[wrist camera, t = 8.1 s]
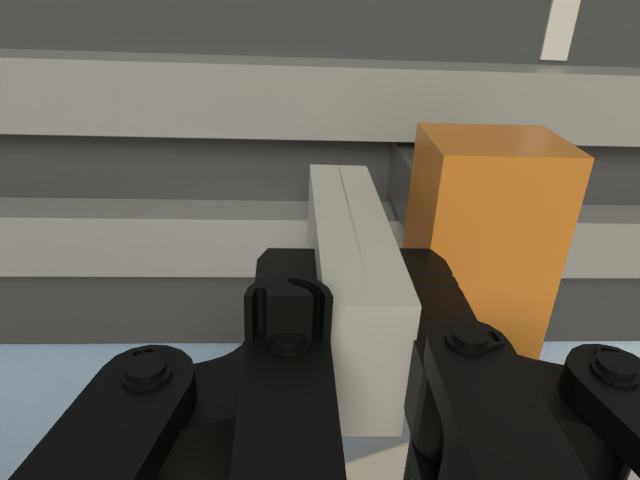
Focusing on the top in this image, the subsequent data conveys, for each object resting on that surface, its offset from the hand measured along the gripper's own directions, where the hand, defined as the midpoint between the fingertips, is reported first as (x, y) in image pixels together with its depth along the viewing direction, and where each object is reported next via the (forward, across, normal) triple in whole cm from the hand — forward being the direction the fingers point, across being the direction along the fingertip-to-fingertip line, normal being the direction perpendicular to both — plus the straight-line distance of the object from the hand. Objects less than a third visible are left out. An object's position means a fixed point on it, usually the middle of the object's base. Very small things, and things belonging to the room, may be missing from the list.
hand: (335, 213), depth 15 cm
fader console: (+5, 0, 0) cm, 5 cm away
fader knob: (+3, +3, 0) cm, 4 cm away
